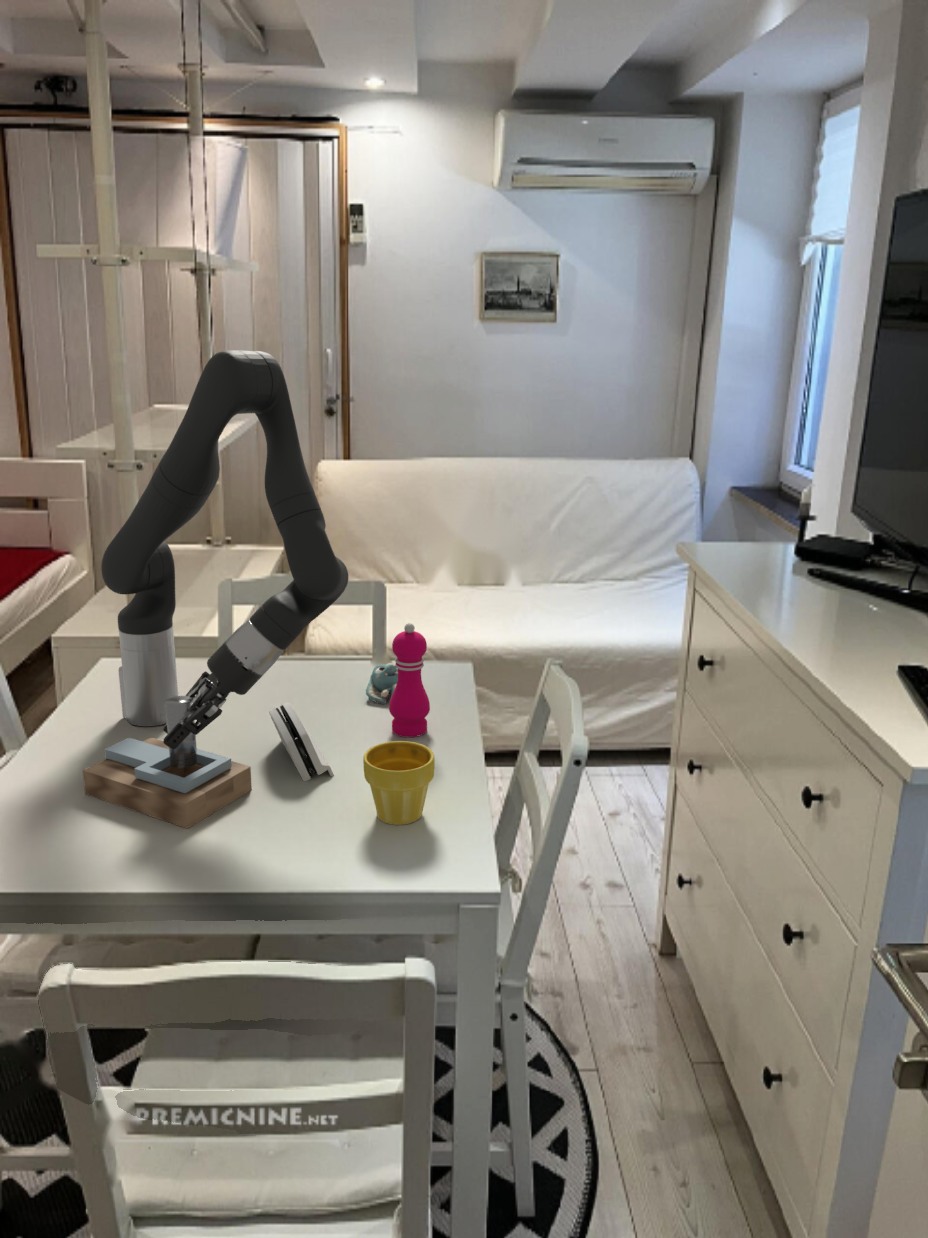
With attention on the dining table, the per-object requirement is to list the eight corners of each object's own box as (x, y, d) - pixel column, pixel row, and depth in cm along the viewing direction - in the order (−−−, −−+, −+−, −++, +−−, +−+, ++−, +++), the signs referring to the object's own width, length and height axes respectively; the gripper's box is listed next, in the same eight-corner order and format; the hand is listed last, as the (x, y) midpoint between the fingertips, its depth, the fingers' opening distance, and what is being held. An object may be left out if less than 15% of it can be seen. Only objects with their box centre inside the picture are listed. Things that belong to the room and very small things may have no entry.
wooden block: (85, 793, 154) (82, 770, 153) (152, 759, 166) (150, 737, 165) (187, 828, 145) (185, 803, 144) (251, 789, 157) (250, 766, 155)
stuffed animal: (378, 687, 184) (356, 655, 194) (376, 720, 188) (354, 687, 197) (432, 678, 189) (407, 648, 198) (428, 711, 192) (404, 679, 202)
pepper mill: (382, 734, 177) (381, 626, 171) (400, 719, 184) (399, 615, 178) (419, 741, 175) (419, 632, 169) (436, 726, 181) (437, 620, 175)
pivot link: (92, 764, 155) (91, 755, 154) (141, 740, 163) (140, 732, 163) (185, 793, 146) (184, 784, 146) (231, 767, 155) (231, 758, 154)
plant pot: (377, 838, 143) (376, 775, 140) (355, 805, 152) (354, 746, 149) (444, 824, 147) (445, 763, 144) (419, 793, 156) (419, 736, 153)
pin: (164, 764, 151) (159, 702, 148) (183, 754, 155) (178, 693, 152) (184, 770, 150) (179, 708, 147) (203, 760, 153) (198, 699, 150)
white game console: (334, 776, 161) (312, 725, 157) (307, 790, 160) (284, 738, 156) (309, 735, 176) (288, 688, 172) (284, 748, 175) (263, 700, 171)
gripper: (224, 626, 155) (148, 706, 155) (230, 656, 142) (147, 744, 142) (260, 655, 158) (186, 734, 158) (269, 688, 145) (188, 774, 145)
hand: (168, 738), depth 150 cm, fingers closed on pin, 4 cm apart
